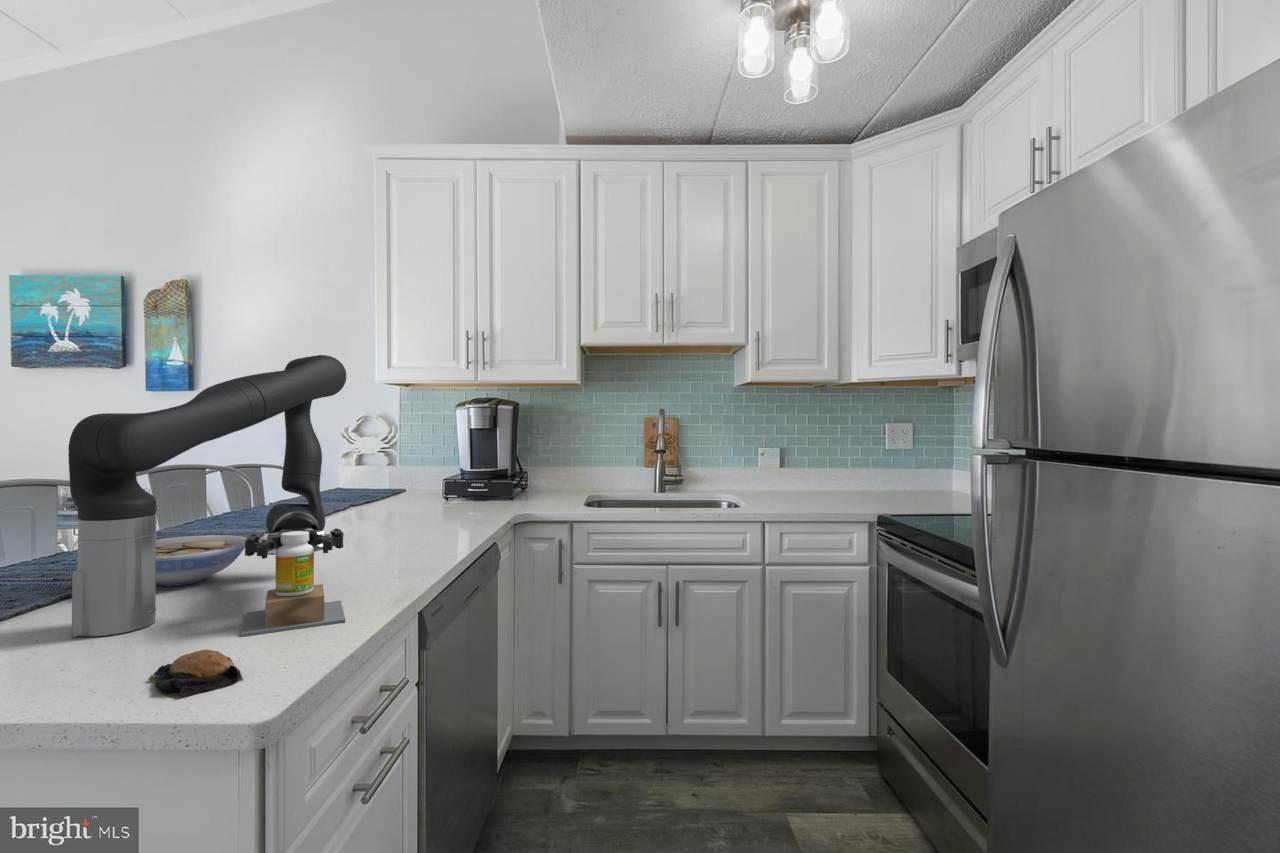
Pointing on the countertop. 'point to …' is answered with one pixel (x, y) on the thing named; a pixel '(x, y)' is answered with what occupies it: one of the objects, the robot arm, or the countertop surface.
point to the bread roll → (196, 674)
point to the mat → (257, 625)
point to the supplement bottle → (294, 565)
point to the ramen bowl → (194, 557)
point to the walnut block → (294, 608)
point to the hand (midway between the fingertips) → (295, 549)
